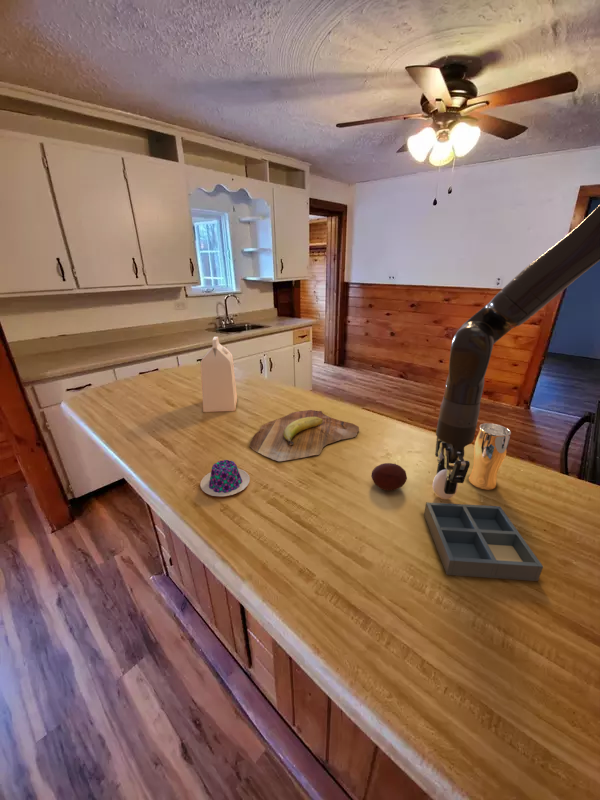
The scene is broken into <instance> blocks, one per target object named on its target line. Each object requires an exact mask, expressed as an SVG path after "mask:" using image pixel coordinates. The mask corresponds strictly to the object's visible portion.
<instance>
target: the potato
mask: <svg viewBox="0 0 600 800" xmlns="http://www.w3.org/2000/svg"><path fill="white" fill-rule="evenodd" d="M371 480H372V482H373V484H375V485H376V486H377V487H378V488H379V489H381V490H384V491H388V492H389V491H390V492H391V491H396V490H398V489H400V488H402V487H403V486H404V485H405V484H406V483H407V480H408V477H407V472H406V469H404V468H403V467H402V466H401V465H399V464H396V463H391V462H385V463H384V462H383V463H381V464H379V465H377V466H376V467H374V469H372V470H371Z"/></svg>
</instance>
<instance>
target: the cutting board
mask: <svg viewBox="0 0 600 800" xmlns="http://www.w3.org/2000/svg"><path fill="white" fill-rule="evenodd" d="M359 431H360V427H359V426H358V425H357V424H354V423H352V422H348V421H343V420H341V419H340V420H339V419H336V418H334V417H331V416H328V415H326V414H325V413H323V411H322V410H314V409H309V410H301V411H294V412H290V413H289V414H287V415H285V416H283V417H279V418H277V419H274V420H271V421H268V422H266V423H264V424H262V425H261V427H260V428H259V430H258V431H257V432H256V433H254V435H253V436H252V437H251V438H252V439H251V441H250V442H249V447H250V449H251V450H253V451H254V452H256V453H259V454H260V455H262V456H263V457H266V458H268V459H271V460H273V461H277V462H285V461H291V460H292V461H293V460H297V459H302V458H308V457H313V456H320V454H321V453H322V451H323V449H324V447H326V446H327V445H330V444H334V443H336V442H338V441H341V440H346V439H347V440H348V439H353V438H356V437H357V435H358V432H359Z"/></svg>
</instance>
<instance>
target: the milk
mask: <svg viewBox="0 0 600 800" xmlns="http://www.w3.org/2000/svg"><path fill="white" fill-rule="evenodd" d="M211 343H212V344H211V345H212V346H211V348H210V349H208V351H206V353H205V354H204V355H203V356H202V359H201V360H200V377H201V378H200V379H201V395H202V396H201V397H202V411H203V413H211V412H214V413H215V412H216V413H217V412H235V411H236V407H237V402H238V394H237V393H238V392H237V385H236V375H235V374H236V373H235V366H234V364H235V363H234V355H233V354H232V352H231V351H229V349H228V348H227V347H225V346H223V345H222V344H221V343H220V340H219V336H213V338H212V340H211Z"/></svg>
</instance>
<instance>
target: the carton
mask: <svg viewBox="0 0 600 800" xmlns="http://www.w3.org/2000/svg"><path fill="white" fill-rule="evenodd" d="M423 516H424V519H425V521H426V524H427V526H428V530H429V532H430V534H431V537H432V540H433V542H434V545H435V547H436V550H437V553H438V556H439V558H440V561H441V563H442V566H443V568H444V572H445V574H446V576H459V577H473V578H485V579H486V578H487V579H488V578H489V579H500V580H515V581H516V580H518V581H530V582H539V580H540V577H541V574H542V571H543V569H544V565H543V564H542V563H541V561H540V560H539V559H538V557H537V555H536V554H535V553H534V551H533V550H532V549H531V548H530V546H529V544H528V543H527V542H526V540H525V538H523V536H522V534H521V533H520V532H519V531H518V528H516V526H515V524H514V523H513V521H512V520H511V519H510V517H509V516H508V515H507V514H506V512H505V511H504V509H503V508H502V507H501V506H500V505H499V506H498V505H486V504H485V505H484V504H466V503H465V504H464V503H445V502H444V503H443V502H431V501H430V502H425V505H424V513H423Z"/></svg>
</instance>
